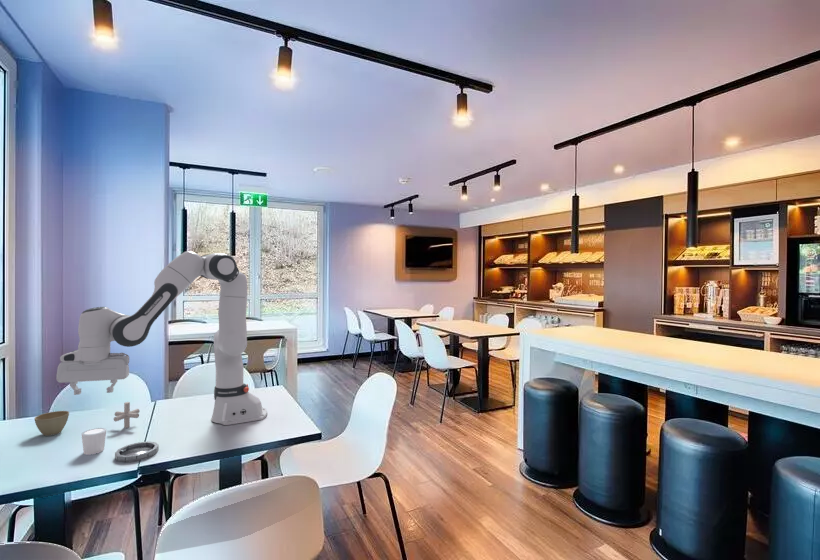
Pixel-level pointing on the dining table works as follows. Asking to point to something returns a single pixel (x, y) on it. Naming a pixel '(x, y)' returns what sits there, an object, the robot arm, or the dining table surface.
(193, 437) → the dining table surface
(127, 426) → the pipe connector
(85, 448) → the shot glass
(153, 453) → the bowl
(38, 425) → the tan bowl
